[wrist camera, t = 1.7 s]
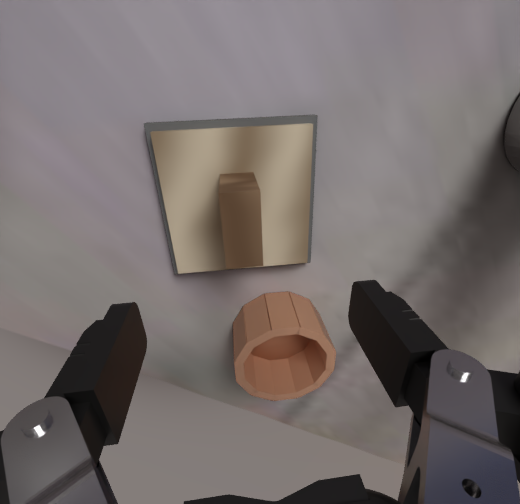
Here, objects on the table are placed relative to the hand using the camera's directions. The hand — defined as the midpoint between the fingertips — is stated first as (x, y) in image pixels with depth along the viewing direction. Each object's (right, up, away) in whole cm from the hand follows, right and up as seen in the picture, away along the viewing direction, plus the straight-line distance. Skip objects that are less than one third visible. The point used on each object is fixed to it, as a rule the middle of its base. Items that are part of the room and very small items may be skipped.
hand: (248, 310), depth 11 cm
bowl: (+2, -6, +19) cm, 20 cm away
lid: (-1, +6, +12) cm, 13 cm away
